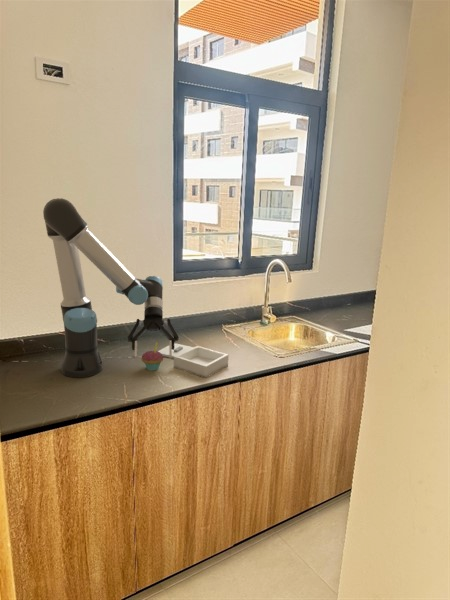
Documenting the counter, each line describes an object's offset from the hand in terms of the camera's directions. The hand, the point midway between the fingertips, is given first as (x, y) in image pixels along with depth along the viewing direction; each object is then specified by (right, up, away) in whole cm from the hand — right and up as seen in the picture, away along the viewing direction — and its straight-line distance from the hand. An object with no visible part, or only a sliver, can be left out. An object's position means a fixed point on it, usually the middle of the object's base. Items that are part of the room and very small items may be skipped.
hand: (153, 357), depth 163 cm
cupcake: (-1, -5, +3) cm, 6 cm away
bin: (+19, -5, +7) cm, 20 cm away
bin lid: (+8, -1, +21) cm, 22 cm away
